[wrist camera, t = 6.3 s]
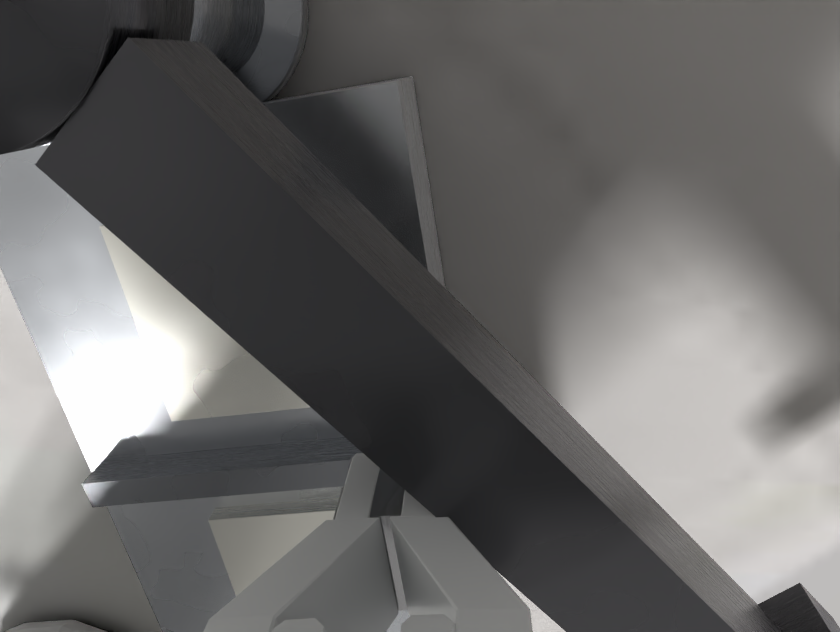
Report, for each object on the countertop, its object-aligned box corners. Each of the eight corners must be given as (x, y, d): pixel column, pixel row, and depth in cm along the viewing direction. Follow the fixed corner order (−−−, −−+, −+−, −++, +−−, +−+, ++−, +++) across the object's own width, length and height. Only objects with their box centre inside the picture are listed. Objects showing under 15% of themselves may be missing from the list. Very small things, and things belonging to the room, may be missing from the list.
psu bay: (57, 137, 13) (-88, 165, 10) (413, 76, 12) (390, 83, 9) (222, 577, 18) (164, 699, 15) (487, 560, 17) (492, 687, 14)
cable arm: (-108, -23, 9) (-536, -82, 5) (36, -285, 7) (-396, -629, 4) (681, 691, 13) (764, 938, 9) (856, 606, 12) (1032, 853, 8)
